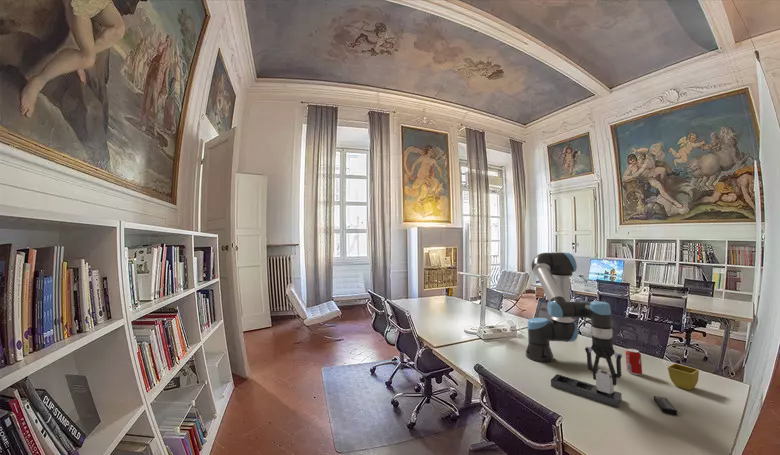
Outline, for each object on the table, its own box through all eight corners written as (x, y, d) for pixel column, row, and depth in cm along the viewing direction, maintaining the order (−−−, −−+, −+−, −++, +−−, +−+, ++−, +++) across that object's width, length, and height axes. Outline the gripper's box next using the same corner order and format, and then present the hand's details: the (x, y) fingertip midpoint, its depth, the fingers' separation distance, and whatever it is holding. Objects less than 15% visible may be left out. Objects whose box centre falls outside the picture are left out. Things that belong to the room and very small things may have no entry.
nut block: (598, 390, 126) (596, 371, 126) (600, 386, 129) (599, 368, 130) (610, 394, 123) (609, 374, 123) (612, 390, 126) (611, 371, 126)
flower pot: (693, 393, 129) (692, 373, 130) (668, 385, 137) (667, 366, 138) (700, 389, 133) (699, 369, 134) (675, 381, 141) (674, 363, 142)
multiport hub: (663, 413, 115) (662, 408, 115) (653, 400, 125) (653, 395, 125) (677, 416, 113) (677, 410, 113) (666, 403, 123) (666, 397, 123)
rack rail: (551, 386, 138) (550, 379, 138) (557, 380, 144) (556, 374, 144) (618, 408, 119) (617, 400, 119) (621, 399, 125) (621, 392, 125)
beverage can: (645, 376, 147) (643, 352, 148) (631, 375, 148) (629, 352, 149) (637, 371, 153) (635, 348, 154) (624, 370, 154) (622, 347, 155)
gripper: (577, 334, 131) (580, 385, 130) (625, 343, 118) (629, 400, 117) (581, 330, 136) (584, 380, 135) (628, 339, 124) (632, 393, 122)
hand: (605, 389), depth 126 cm, fingers closed on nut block, 4 cm apart
